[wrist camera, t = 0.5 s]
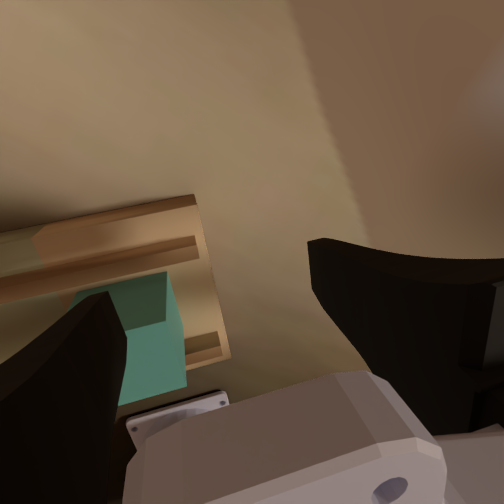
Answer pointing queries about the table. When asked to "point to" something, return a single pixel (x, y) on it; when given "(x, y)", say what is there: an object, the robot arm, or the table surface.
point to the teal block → (147, 335)
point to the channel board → (110, 271)
